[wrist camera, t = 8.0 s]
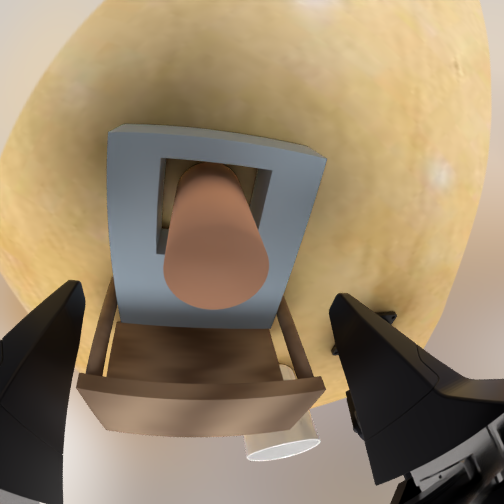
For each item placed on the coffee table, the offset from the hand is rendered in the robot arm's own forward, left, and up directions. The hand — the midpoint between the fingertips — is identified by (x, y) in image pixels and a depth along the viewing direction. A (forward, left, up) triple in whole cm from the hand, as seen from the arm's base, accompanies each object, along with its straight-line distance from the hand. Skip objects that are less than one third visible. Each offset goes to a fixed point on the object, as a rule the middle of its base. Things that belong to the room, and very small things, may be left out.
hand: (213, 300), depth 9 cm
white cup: (-9, +22, -10) cm, 26 cm away
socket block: (0, +3, -10) cm, 10 cm away
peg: (0, 0, -10) cm, 10 cm away
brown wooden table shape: (0, +11, -10) cm, 14 cm away
